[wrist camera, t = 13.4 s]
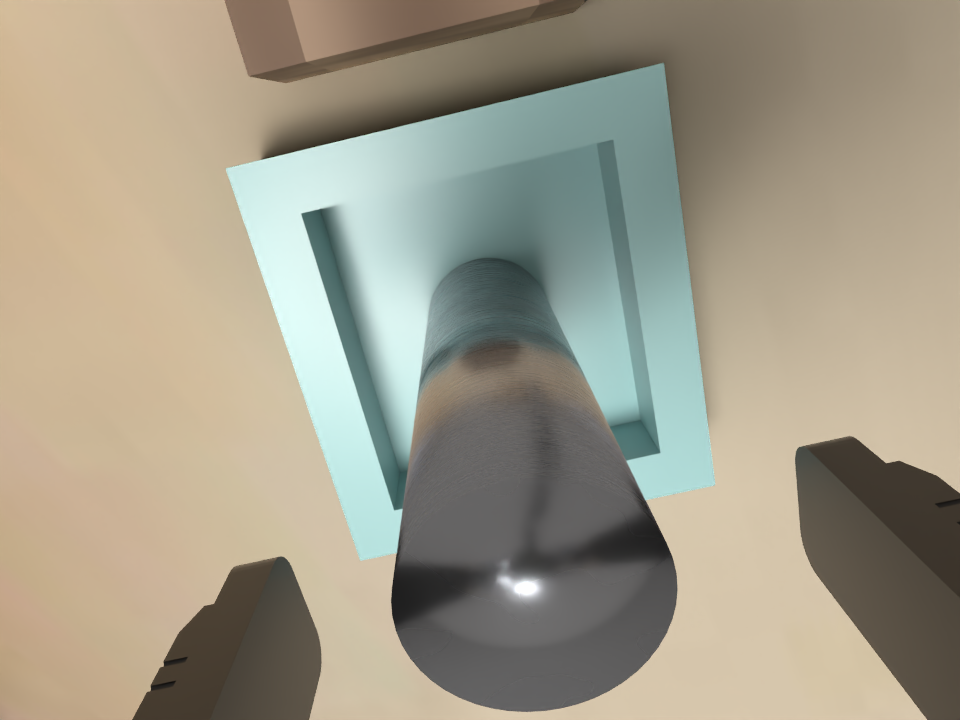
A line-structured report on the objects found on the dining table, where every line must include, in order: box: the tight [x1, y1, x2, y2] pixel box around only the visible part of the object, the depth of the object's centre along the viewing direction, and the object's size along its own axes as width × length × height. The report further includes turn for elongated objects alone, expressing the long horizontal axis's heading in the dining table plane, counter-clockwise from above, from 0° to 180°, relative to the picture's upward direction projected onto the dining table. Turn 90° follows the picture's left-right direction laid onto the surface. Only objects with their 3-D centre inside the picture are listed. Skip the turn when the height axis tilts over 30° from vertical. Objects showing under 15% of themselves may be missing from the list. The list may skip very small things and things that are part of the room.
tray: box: [226, 63, 715, 561], centre depth 22 cm, size 12×13×4 cm
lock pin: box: [391, 258, 677, 712], centre depth 16 cm, size 4×4×14 cm
